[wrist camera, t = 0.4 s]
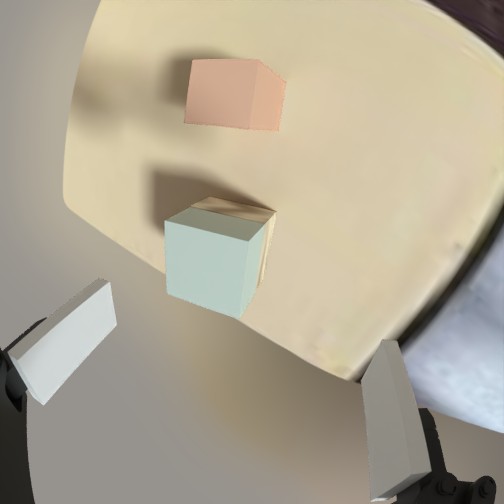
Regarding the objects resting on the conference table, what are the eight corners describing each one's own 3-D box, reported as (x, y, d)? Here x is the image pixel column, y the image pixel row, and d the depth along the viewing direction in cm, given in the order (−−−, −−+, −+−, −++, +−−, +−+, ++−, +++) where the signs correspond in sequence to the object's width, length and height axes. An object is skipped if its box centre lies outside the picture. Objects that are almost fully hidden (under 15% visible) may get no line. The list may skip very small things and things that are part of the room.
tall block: (286, 81, 26) (259, 59, 17) (278, 131, 28) (248, 129, 20) (236, 77, 27) (192, 59, 19) (229, 124, 30) (183, 123, 21)
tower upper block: (264, 224, 28) (248, 241, 24) (254, 294, 33) (239, 319, 28) (189, 207, 31) (164, 220, 26) (188, 273, 35) (167, 293, 30)
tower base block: (276, 211, 33) (265, 223, 28) (265, 274, 37) (253, 293, 33) (210, 196, 35) (190, 205, 31) (205, 256, 39) (187, 272, 35)
